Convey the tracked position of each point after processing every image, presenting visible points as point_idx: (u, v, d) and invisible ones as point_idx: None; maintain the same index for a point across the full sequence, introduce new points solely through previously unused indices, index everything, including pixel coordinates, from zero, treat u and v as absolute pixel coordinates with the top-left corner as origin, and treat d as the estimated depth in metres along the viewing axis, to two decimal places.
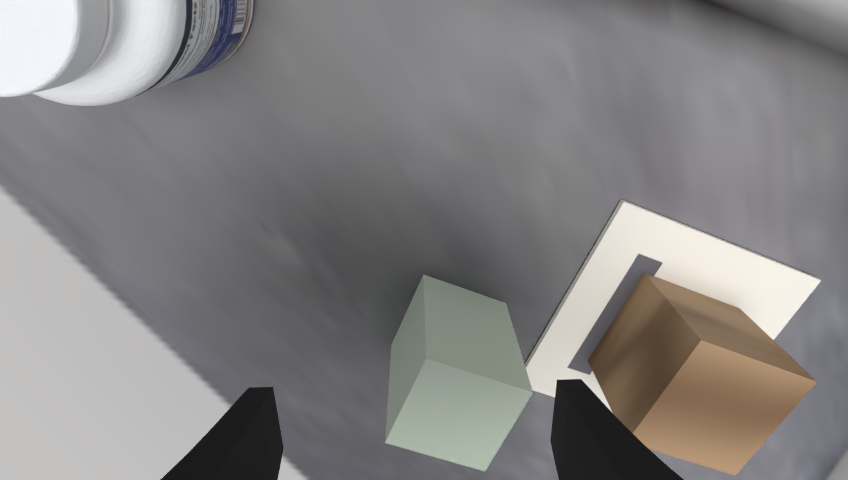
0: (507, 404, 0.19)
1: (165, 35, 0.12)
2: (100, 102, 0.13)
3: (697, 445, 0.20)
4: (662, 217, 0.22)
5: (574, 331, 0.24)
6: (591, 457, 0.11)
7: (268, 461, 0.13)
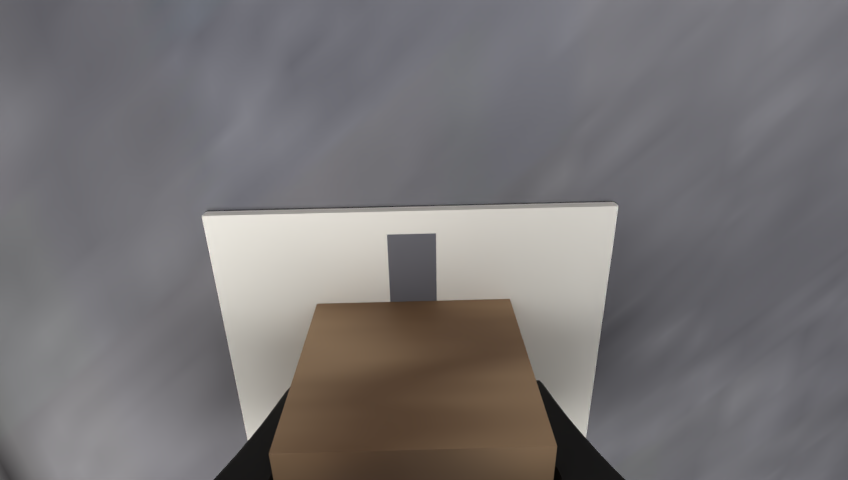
0: None
1: None
2: None
3: None
4: None
5: None
6: None
7: None
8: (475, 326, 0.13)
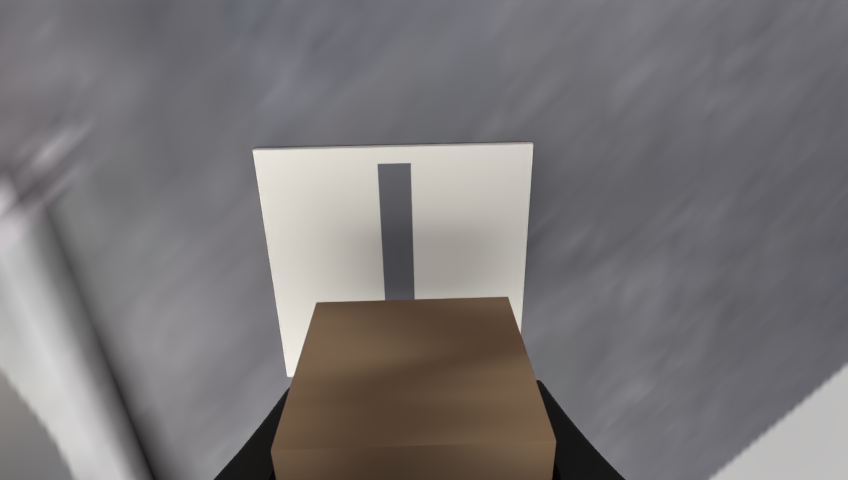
0: None
1: None
2: None
3: None
4: (282, 340, 0.22)
5: None
6: None
7: None
8: (474, 323, 0.13)
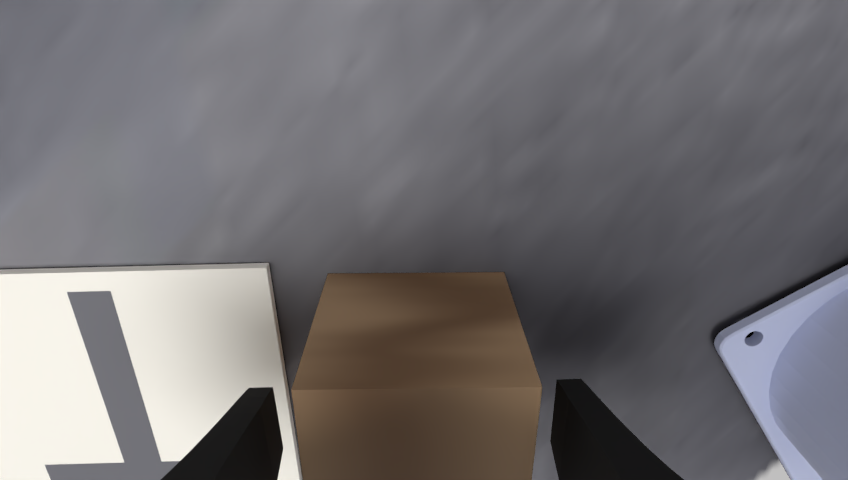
0: None
1: None
2: None
3: (494, 473, 0.12)
4: None
5: None
6: (591, 457, 0.11)
7: (268, 461, 0.13)
8: (472, 292, 0.14)
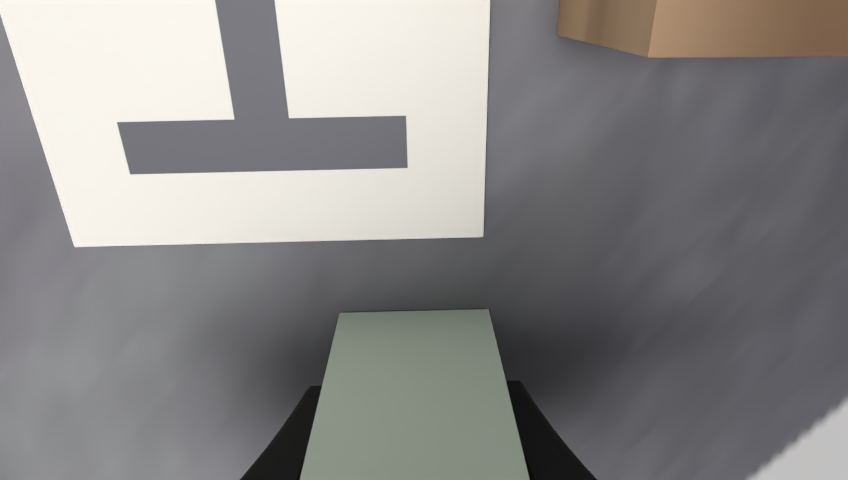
0: None
1: None
2: None
3: None
4: (52, 172, 0.12)
5: (327, 197, 0.13)
6: None
7: None
8: None
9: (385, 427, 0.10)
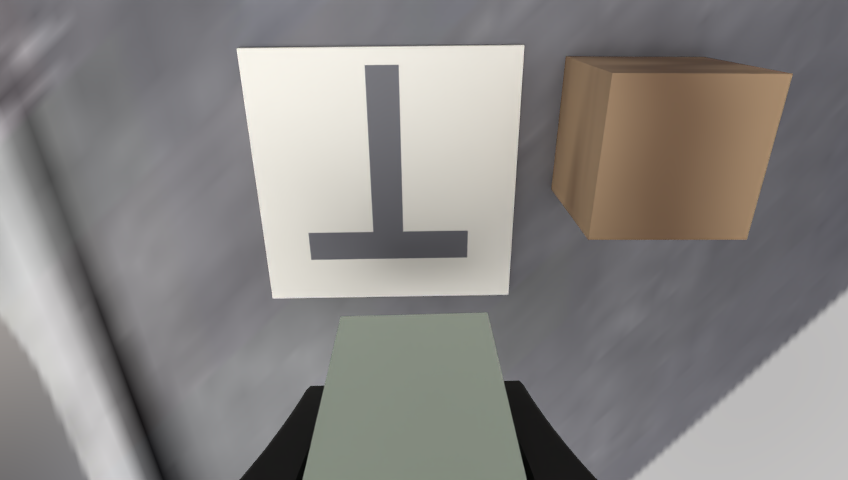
0: None
1: None
2: None
3: (741, 157, 0.16)
4: (267, 258, 0.22)
5: (420, 272, 0.22)
6: None
7: None
8: (691, 59, 0.18)
9: (385, 430, 0.11)
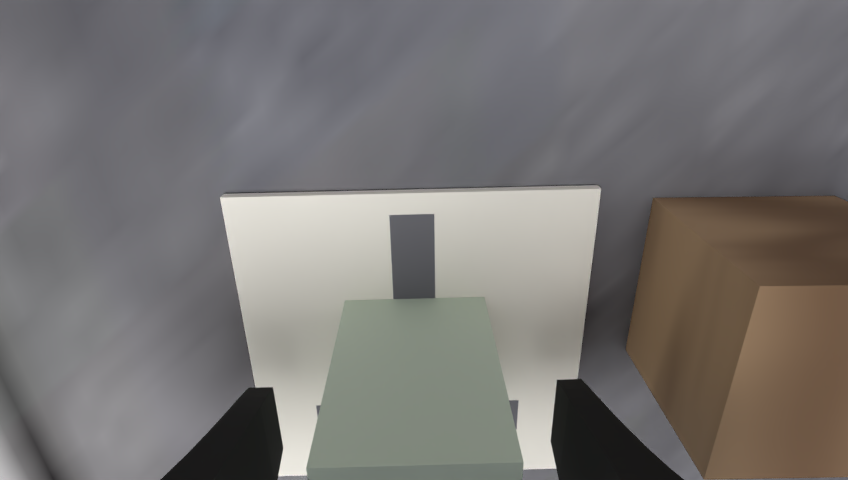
0: None
1: None
2: None
3: None
4: None
5: None
6: (591, 457, 0.11)
7: (268, 461, 0.13)
8: (828, 211, 0.13)
9: (388, 400, 0.11)
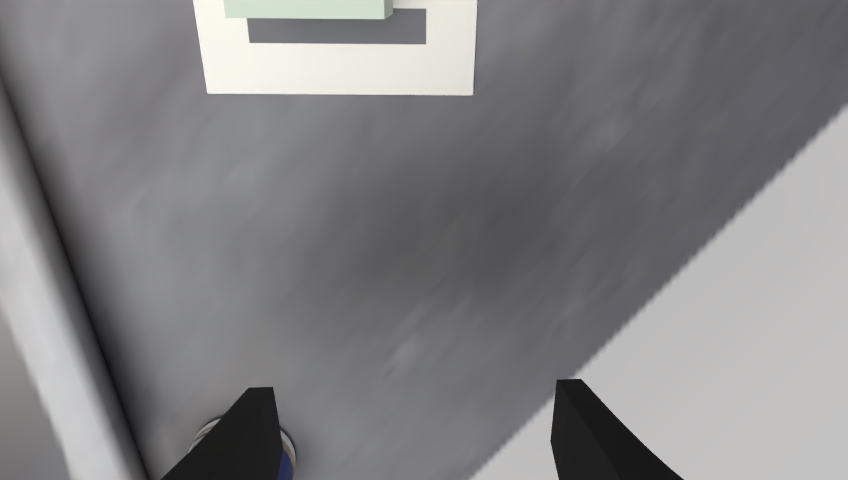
0: None
1: None
2: None
3: None
4: (200, 40, 0.19)
5: (373, 63, 0.20)
6: (591, 457, 0.11)
7: (268, 461, 0.13)
8: None
9: None
